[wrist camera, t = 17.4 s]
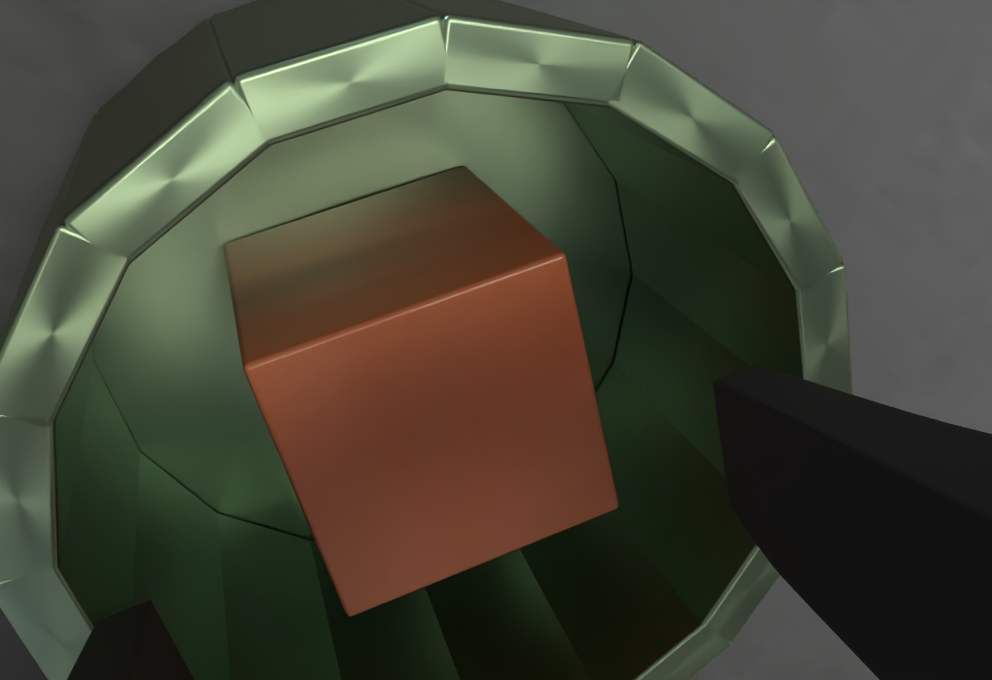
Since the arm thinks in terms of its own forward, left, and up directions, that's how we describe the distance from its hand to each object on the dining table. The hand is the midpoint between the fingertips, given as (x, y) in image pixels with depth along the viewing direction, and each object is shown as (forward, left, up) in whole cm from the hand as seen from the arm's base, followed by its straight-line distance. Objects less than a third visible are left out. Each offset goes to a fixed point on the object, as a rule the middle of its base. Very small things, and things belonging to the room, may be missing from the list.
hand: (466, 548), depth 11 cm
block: (0, 0, -7) cm, 7 cm away
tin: (0, 0, -8) cm, 8 cm away
